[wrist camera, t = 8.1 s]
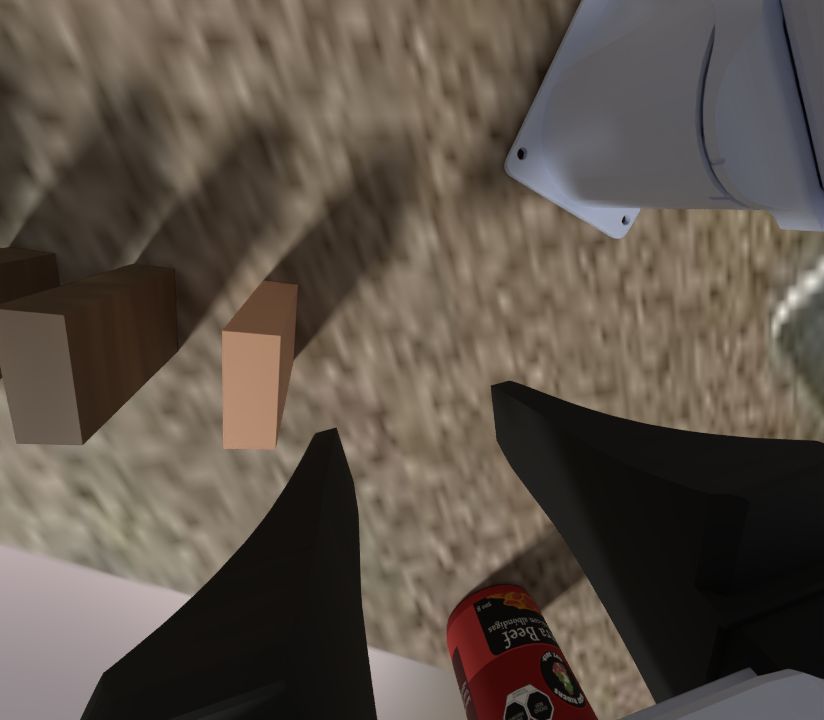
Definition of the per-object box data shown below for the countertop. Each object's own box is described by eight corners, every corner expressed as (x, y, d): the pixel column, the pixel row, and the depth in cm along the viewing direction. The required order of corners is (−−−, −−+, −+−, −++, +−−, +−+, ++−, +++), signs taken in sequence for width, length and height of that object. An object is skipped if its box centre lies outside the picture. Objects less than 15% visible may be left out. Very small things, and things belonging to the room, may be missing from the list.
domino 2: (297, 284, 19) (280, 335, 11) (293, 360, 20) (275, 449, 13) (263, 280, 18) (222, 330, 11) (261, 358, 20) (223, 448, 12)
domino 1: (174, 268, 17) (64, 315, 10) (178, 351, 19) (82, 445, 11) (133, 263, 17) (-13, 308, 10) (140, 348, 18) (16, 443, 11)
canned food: (549, 591, 32) (651, 766, 22) (496, 654, 34) (568, 842, 24) (479, 571, 29) (559, 762, 19) (425, 641, 31) (473, 847, 21)
